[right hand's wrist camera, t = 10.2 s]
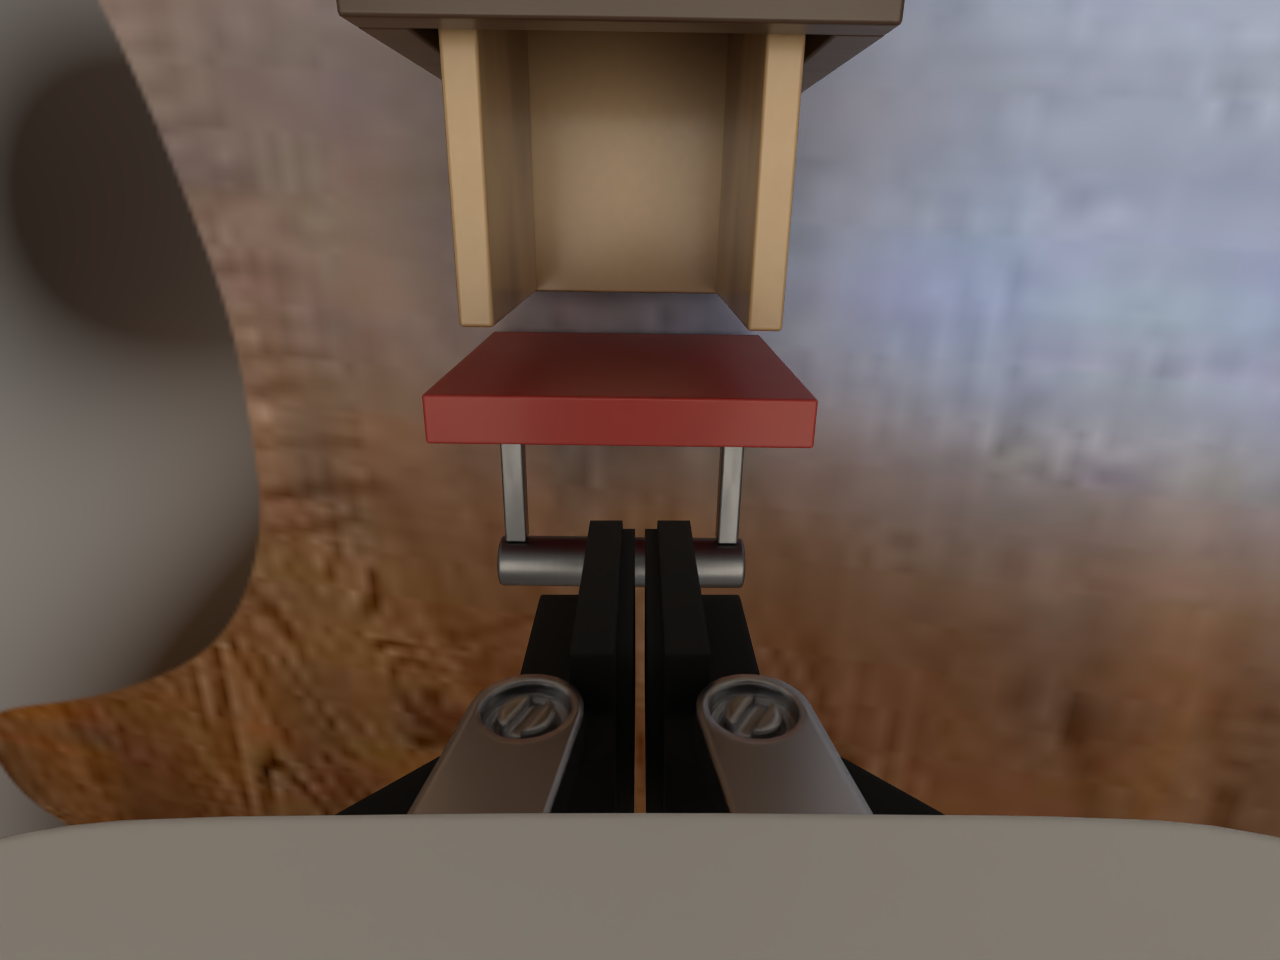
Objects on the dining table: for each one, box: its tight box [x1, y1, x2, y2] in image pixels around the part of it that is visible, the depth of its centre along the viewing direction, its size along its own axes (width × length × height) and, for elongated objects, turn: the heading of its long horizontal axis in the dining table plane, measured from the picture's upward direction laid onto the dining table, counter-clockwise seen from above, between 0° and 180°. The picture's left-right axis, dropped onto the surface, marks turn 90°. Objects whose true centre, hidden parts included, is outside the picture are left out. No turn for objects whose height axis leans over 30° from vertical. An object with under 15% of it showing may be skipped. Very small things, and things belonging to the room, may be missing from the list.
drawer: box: [422, 29, 818, 588], centre depth 19 cm, size 24×9×9 cm, turn 179°
